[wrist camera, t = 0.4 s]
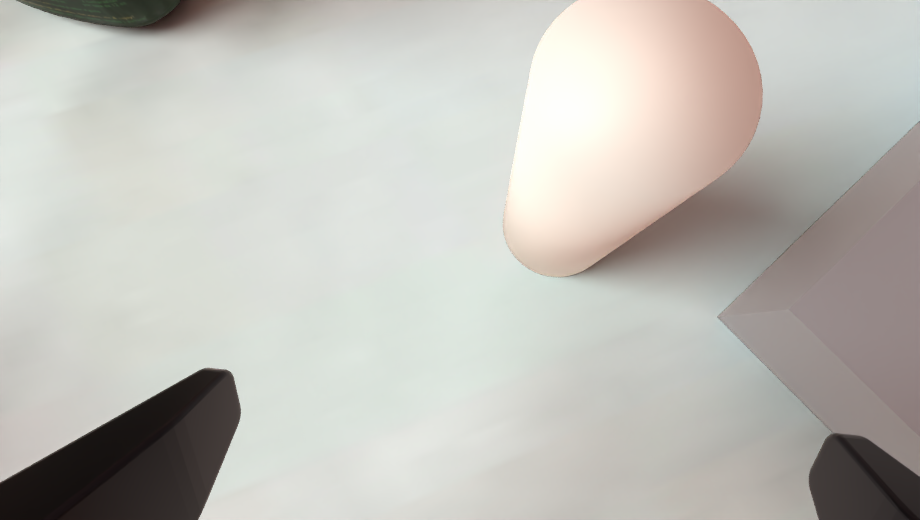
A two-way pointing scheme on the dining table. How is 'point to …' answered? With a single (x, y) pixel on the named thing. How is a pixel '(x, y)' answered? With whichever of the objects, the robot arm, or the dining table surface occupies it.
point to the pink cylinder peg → (624, 125)
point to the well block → (850, 309)
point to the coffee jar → (108, 10)
